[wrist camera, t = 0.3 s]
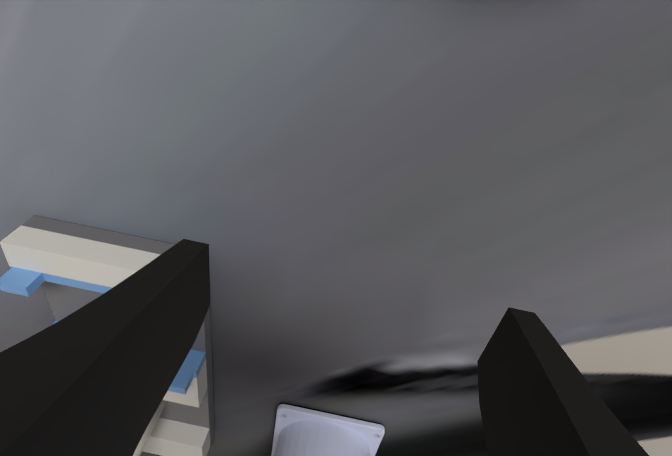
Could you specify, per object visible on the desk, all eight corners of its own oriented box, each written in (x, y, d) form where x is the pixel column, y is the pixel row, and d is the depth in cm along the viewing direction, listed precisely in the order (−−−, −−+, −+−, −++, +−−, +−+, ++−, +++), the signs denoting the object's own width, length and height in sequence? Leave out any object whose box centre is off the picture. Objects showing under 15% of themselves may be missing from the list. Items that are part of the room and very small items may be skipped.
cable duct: (214, 433, 35) (197, 480, 32) (98, 408, 35) (70, 453, 32) (208, 251, 23) (179, 298, 20) (34, 215, 24) (-20, 256, 21)
